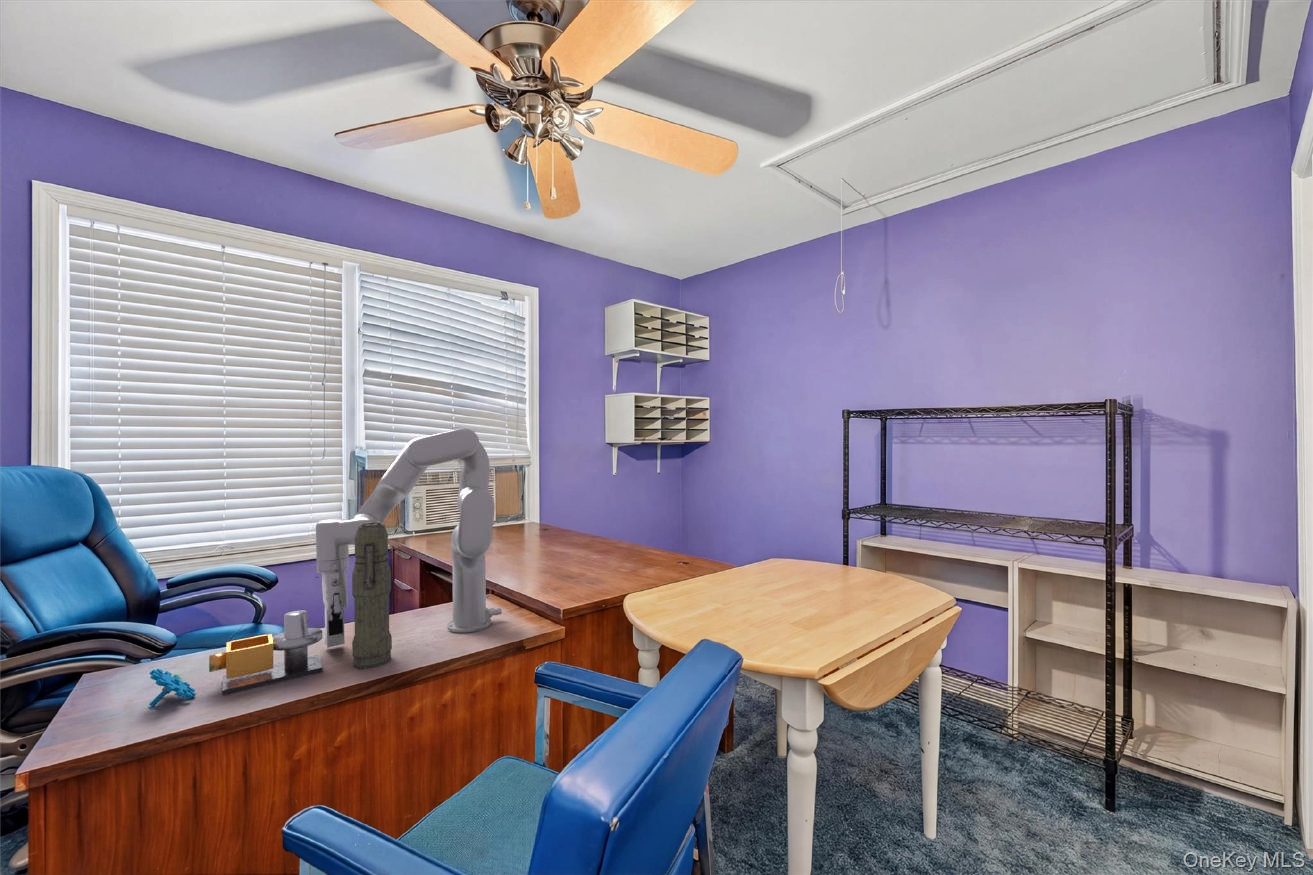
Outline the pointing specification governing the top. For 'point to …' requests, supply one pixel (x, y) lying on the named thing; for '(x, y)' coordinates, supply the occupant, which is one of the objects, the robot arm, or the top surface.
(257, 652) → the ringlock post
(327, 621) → the tall grey block
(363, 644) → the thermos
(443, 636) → the top surface
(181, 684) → the blue splat shape
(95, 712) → the top surface
